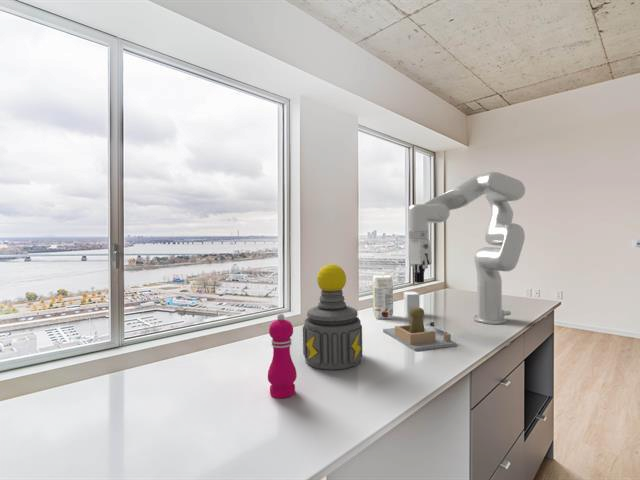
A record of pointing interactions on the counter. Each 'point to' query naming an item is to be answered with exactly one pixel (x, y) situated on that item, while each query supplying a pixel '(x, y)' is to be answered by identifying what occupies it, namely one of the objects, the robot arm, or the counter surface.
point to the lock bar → (437, 330)
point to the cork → (416, 320)
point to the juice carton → (383, 297)
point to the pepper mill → (281, 359)
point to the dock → (419, 338)
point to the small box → (410, 302)
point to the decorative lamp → (332, 325)
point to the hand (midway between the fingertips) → (419, 282)
